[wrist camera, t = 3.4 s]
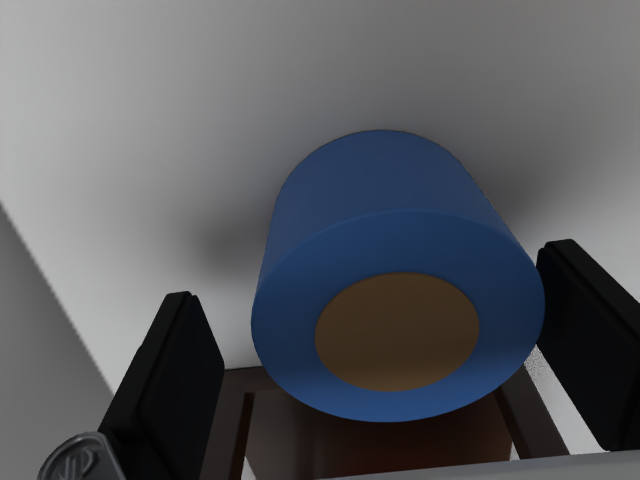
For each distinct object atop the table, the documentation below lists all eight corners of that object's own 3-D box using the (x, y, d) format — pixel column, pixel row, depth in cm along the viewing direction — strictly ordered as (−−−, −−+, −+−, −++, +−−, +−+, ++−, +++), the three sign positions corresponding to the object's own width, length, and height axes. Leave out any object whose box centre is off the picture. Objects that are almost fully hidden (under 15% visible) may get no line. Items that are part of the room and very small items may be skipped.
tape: (250, 148, 12) (211, 235, 8) (484, 112, 12) (573, 187, 7) (294, 316, 16) (283, 436, 12) (474, 296, 15) (530, 415, 11)
